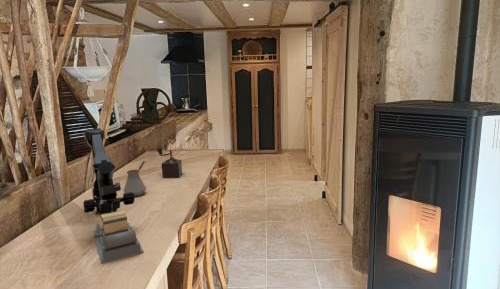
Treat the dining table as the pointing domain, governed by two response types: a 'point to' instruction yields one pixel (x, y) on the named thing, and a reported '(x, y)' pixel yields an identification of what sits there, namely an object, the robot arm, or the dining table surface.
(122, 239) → the bay
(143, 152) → the dining table surface
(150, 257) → the dining table surface
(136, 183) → the coffee pot
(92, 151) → the robot arm
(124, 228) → the crate
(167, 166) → the manual coffee grinder
